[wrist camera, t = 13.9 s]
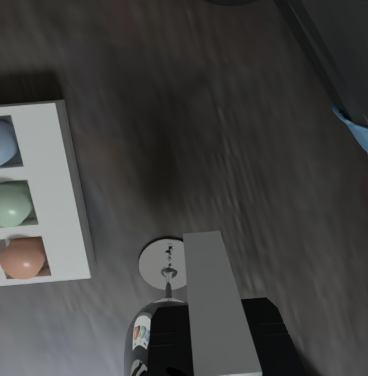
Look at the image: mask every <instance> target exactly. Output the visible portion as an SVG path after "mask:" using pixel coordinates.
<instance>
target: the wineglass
mask: <svg viewBox="0 0 368 376" xmlns="http://www.w3.org/2000/svg"><path fill="white" fill-rule="evenodd" d="M138 266H139V271H140V274H141V276H142V277H143V279H144V280H145V281H146V282H147V283H148V284H150V285H151V286H153V287H155V288H157V289H162V290H165V299H159V300H156V301H154V302H152V303H150V304H148V305H147V306H145V307H144V308H142V309H141V310H140V311H139V312H138V313H137V314H136V316H135V317H134V319H133V321H132V322H131V324H130V326H129V328H128V331H127V335H126V339H125V350H124V376H142V375H143V374H144V373H145V372H146V371H147V363H148V349H149V336H150V321H151V318H152V316H153V315H154V313H155V311H156V310H157V308H158V307H169V306H181V305H188V303H186V302H184V301H182V300H179V299H174V298H172V290H175V289H179V288H181V287H183V286H185V285H187V281H186V268H185V255H184V242H183V241H181V240H177V239H171V238H167V239H160V240H157V241H155V242H153V243H151V244H149V245H148V246H147V247H146V248H145V249H144V250H143V252H142V253H141V255H140V258H139V263H138Z"/></svg>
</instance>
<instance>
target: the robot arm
mask: <svg viewBox="0 0 368 376" xmlns="http://www.w3.org/2000/svg"><path fill="white" fill-rule="evenodd" d="M204 1H207V2H210V3H213V4H218V5H226V6H235V5H243V4H248V3H251V2H254V1H257V0H204ZM274 1H275V3H276V5H277V7H278V9H279V10H280V12H281V14H282V16H283V17H284V19H285V21H286V23H287V24H288V26H289V28H290V30H291V31H292V33H293V35H294V37H295V38H296V40H297V42H298V44H299V45H300V47H301V49H302V51H303V53H304V54H305V56H306V58H307V60H308V61H309V63H310V65H311V67H312V68H313V70H314V72H315V74H316V75H317V77H318V79H319V81H320V82H321V84H322V86H323V88H324V89H325V91H326V93H327V95H328V97H329V98H330V102H331V107H332V109H333V111H334V112H335V114H336V115H337V116H338V117H339V118H340V119H341V120H342V121H343V122H345V123H346V124H347V126H348V127H349V129H350V130H351V132H352V133H353V135H354V136H355V138H356V139H357V141H358V142H359V144H360V145H361V146H362V148H363V149H364V150H365V151H367V152H368V0H274ZM183 242H184V255H185V268H186V281H187V294H188V305H181V306H169V307H158V308H157V310H156V311H155V313H154V315H153V316H152V318H151V321H150V336H149V349H148V363H147V371H146V372H145V373H144V374H143V375H142V376H307V374H306V372H305V369H304V367H303V365H302V363H301V360H300V358H299V356H298V354H297V351H296V349H295V347H294V344H293V342H292V340H291V338H290V335H289V334H288V331H287V329H286V326H285V324H284V323H283V319H282V317H281V315H280V313H279V310H278V308H277V307H276V306H275V305H274V304H273V303H272V302H271V301H269V300H268V299H267V298H266V297H265V298H253V299H241V300H240V296H239V293H238V290H237V287H236V283H235V280H234V277H233V273H232V270H231V267H230V263H229V260H228V257H227V253H226V250H225V247H224V243H223V240H222V237H221V233H220V231H213V232H200V233H188V234H183Z"/></svg>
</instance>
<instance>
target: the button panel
mask: <svg viewBox="0 0 368 376" xmlns="http://www.w3.org/2000/svg"><path fill="white" fill-rule="evenodd" d="M0 119H4V120H7V121H9V122H10V123H12V124H13V125H14V129H15V133H16V137H17V141H18V145H19V149H20V152H19V153H18V155H16V156H15V157H14V158H12V159H10V160H9V161H7V162H5V163H4V164H2V165H0V184H1V183H2V182H4V181H16V180H20V181H23V182H25V183H27V184H28V185H29V188H30V192H31V196H32V200H33V204H34V209H33V211H32V212H31V213H30V214H29V215H28V216H27V217H26V218H25V219H24V220H23V221H22V222H21V223H20V224H19V225H17V226H14V227H2V226H0V255H1V253H2V252H3V251H4V249H5V248H6V247H7V246H8V245H9V244H10V243H11V241H12V240H13V239H14V238H23V237H35V236H40V237H41V238H42V240H43V243H44V247H45V251H46V255H47V259H46V261H45V263H44V264H43V266H42V267H41V269H40V271H39V272H38V274H37V275H35V276H34V277H32V278H30V279H16V278H13V277H11V276H9V275H8V274H7V273H5V272H4V270H3V269H2V267H1V265H0V286H5V285H17V284H28V283H40V282H51V281H63V280H74V279H86V278H91V276H92V274H93V271H94V268H95V265H96V260H95V255H94V250H93V245H92V240H91V235H90V230H89V224H88V219H87V214H86V209H85V204H84V199H83V194H82V188H81V183H80V178H79V173H78V168H77V163H76V158H75V153H74V147H73V142H72V137H71V132H70V127H69V122H68V117H67V111H66V106H65V101H64V100H52V101H40V102H27V103H14V104H2V105H0Z"/></svg>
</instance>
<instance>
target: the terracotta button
mask: <svg viewBox="0 0 368 376" xmlns="http://www.w3.org/2000/svg"><path fill="white" fill-rule="evenodd" d="M46 259H47V255H46V251H45V247H44V243H43V240H42V238H41V237H40V236H35V237H23V238H14V239H13V240H12V241H11V243H10V244H9V245H8V246H7V247H6V248H5V249H4V251H3V252H2V253H1V255H0V265H1V267H2V269H3V270H4V272H5V273H7V274H8V275H9V276H11V277H13V278H16V279H30V278H32V277H34V276H35V275H37V274H38V272H39V271H40V269H41V267H42V266H43V264H44V263H45V261H46Z"/></svg>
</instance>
